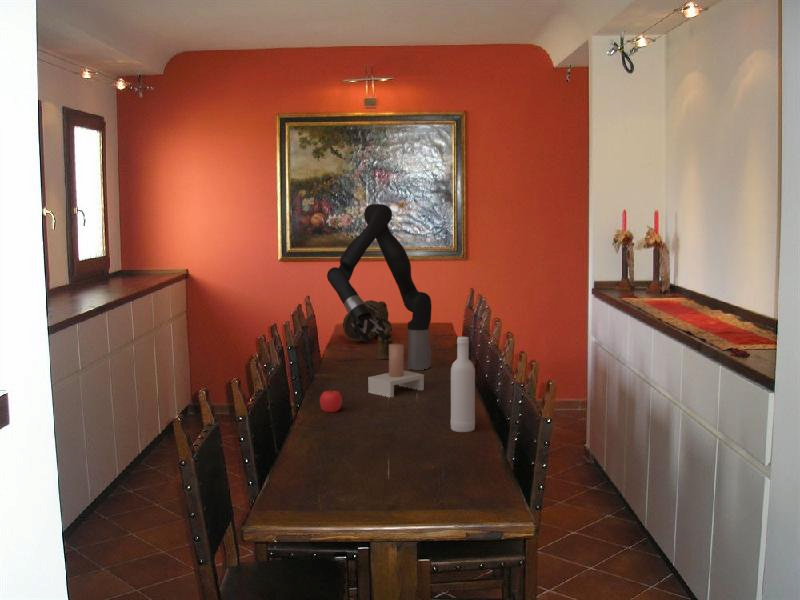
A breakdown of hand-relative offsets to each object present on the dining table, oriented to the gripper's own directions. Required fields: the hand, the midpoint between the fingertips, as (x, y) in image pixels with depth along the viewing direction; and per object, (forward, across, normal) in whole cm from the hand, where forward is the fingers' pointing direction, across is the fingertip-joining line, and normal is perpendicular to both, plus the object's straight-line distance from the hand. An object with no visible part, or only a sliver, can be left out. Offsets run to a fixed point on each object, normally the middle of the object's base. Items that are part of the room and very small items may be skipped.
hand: (377, 341), depth 347 cm
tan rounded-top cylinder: (+16, 0, +1) cm, 16 cm away
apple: (+24, -37, +2) cm, 44 cm away
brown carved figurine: (-15, +42, +41) cm, 61 cm away
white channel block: (+20, 0, +6) cm, 21 cm away
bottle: (+58, -23, -32) cm, 71 cm away
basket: (-46, +74, +73) cm, 113 cm away
